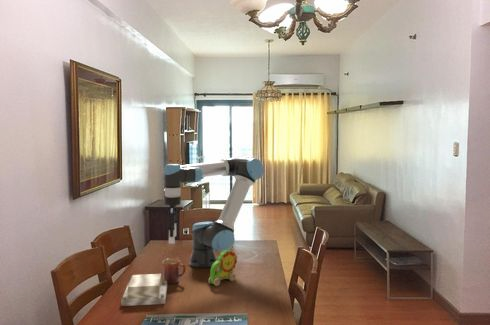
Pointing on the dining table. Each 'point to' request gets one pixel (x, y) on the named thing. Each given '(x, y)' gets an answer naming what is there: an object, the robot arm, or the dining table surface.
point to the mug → (172, 270)
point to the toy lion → (223, 267)
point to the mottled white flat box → (145, 290)
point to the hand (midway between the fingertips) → (172, 239)
